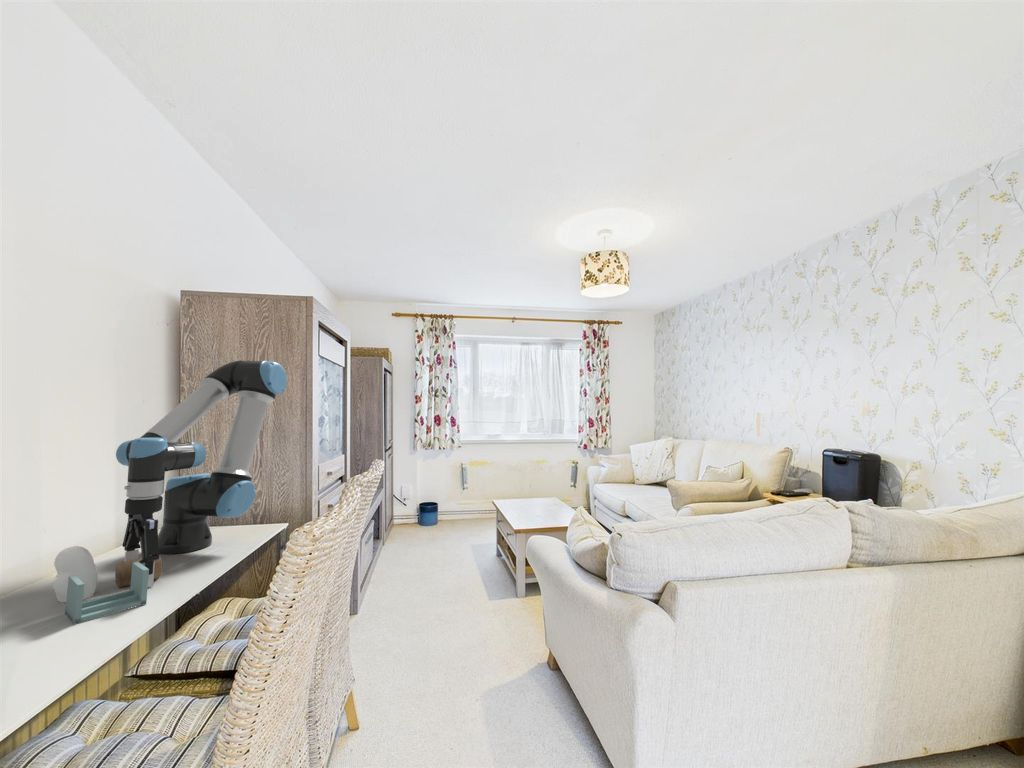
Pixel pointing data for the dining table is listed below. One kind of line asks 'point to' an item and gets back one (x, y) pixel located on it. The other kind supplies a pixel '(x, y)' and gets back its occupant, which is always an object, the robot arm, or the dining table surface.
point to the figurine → (74, 571)
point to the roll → (125, 571)
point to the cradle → (106, 597)
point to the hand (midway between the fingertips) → (137, 581)
